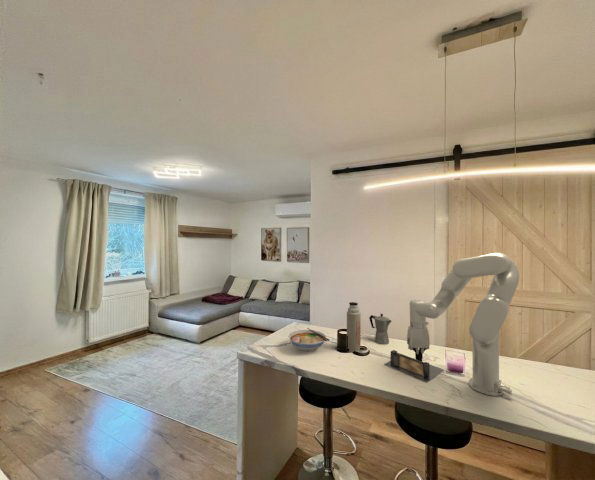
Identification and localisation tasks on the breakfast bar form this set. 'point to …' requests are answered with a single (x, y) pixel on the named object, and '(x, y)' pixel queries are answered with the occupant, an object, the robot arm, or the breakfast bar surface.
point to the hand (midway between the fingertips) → (419, 360)
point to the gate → (411, 364)
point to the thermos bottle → (354, 327)
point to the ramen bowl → (307, 339)
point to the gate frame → (428, 375)
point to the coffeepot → (381, 328)
